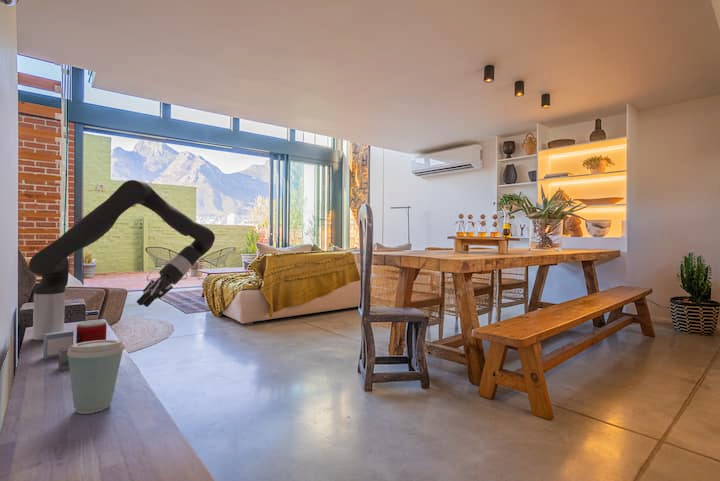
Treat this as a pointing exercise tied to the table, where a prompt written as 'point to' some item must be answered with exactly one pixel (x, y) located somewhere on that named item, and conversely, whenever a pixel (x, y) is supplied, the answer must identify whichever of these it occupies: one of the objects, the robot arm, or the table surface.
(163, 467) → the table surface
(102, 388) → the disposable coffee cup
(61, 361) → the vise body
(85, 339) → the canned food
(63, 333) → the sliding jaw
